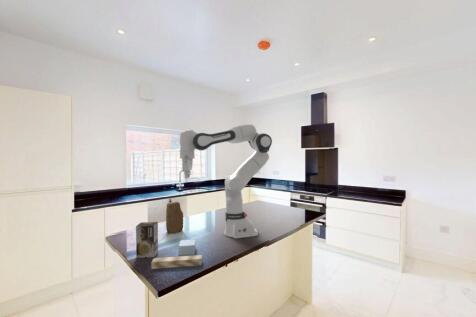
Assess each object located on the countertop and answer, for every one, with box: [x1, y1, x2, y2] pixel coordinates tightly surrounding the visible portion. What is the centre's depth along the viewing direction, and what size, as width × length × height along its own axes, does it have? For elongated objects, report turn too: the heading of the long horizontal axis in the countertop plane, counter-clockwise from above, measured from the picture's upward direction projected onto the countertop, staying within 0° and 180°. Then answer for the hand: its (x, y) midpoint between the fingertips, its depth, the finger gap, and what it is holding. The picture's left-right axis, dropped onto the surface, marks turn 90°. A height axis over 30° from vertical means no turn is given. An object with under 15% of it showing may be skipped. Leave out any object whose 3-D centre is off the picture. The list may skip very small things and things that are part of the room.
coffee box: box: [135, 221, 159, 259], centre depth 108 cm, size 9×6×16 cm
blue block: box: [178, 239, 196, 256], centre depth 111 cm, size 8×8×5 cm
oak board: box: [151, 254, 203, 270], centre depth 97 cm, size 22×4×3 cm, turn 98°
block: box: [165, 201, 184, 234], centre depth 143 cm, size 11×8×20 cm
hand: (187, 177), depth 130 cm, fingers open, 8 cm apart
